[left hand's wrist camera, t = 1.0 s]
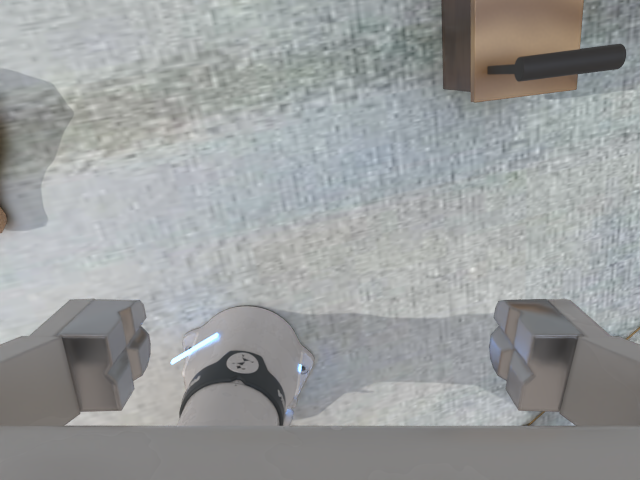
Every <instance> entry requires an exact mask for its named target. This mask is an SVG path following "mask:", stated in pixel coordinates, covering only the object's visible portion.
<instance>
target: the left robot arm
mask: <svg viewBox="0 0 640 480" xmlns="http://www.w3.org/2000/svg"><path fill="white" fill-rule="evenodd" d="M145 319H146V313H145V308H144V304H143V303H142V302H141V301H140V300H111V299H74V300H69V301H68V302H67V303H66V304H65V305H64V306H62V307H61V308H60V309H59V310H58V311H57V312H56V313H55V314H53V315H52V316H51V317H50V318H49V319H48V320H47V321H46V322H44V323H43V324H42V325H41V326H40V327H39V328H38V329H36V330H35V331H34V332H33V333H32V334H31V335H30V336H21V337H19V338H16V339H13V340H11V341H8V342H6V343H3V344H1V345H0V480H640V345H639V344H637V343H634V342H632V341H629V340H627V339H624V338H621V337H619V336H610V335H609V334H608V333H607V332H606V331H605V330H604V329H602V328H601V327H600V326H599V325H598V324H597V323H596V322H595V321H593V320H592V319H591V318H590V317H589V316H588V315H587V314H586V313H584V312H583V311H582V310H581V309H580V308H579V307H578V306H577V305H575V304H574V303H573V302H572V301H571V300H568V299H529V300H502V301H498V303H497V305H496V308H495V313H494V319H495V320H496V322H497V324H498V325H499V327H498V328H497V329H496V330H495V331H494V332H493V333H492V334H491V338H490V346H489V349H490V359H491V362H492V365H493V368H494V370H495V372H496V373H497V375H498V376H500V377H501V378H503V379H504V380H506V381H507V384H506V390H507V392H508V394H509V395H510V397H511V399H512V400H513V402H514V404H515V405H516V407H517V409H518V410H519V411H553V412H560V414H561V415H562V416H564V417H565V418H566V419H568V420H569V421H571V422H572V423H573V424H575V425H576V426H290V424H291V421H292V418H293V410H291V409H292V408H295V406H296V404H297V397H298V395H299V393H300V391H301V389H302V387H303V385H304V383H305V381H306V379H307V377H308V375H309V373H310V371H311V369H312V367H313V364H314V356H313V355H312V354H311V353H310V352H309V351H308V350H307V349H306V348H305V347H304V346H302V345H301V343H300V342H299V340H298V338H297V336H296V334H295V332H294V330H293V329H292V327H291V326H290V325H289V324H288V323H287V322H286V321H285V320H284V319H283V318H281V317H280V316H279V315H277V314H275V313H273V312H271V311H269V310H266V309H263V308H259V307H253V306H240V307H234V308H230V309H227V310H225V311H222V312H220V313H219V314H217V315H216V316H214V317H213V318H212V319H211V320H210V321H209V322H208V323H207V324H205V325H204V326H203V327H201V328H198V329H195V330H192V331H190V332H188V333H187V334H185V336H184V339H183V351H184V353H182V354H181V355H179V356H177V357H176V358H174V359H172V361H171V364H174V363H175V362H177V361H179V360H180V359H182V358H184V359H185V366H184V368H183V372H182V376H184V380H185V387H186V391H185V394H184V396H183V399H182V405H181V408H180V419H179V422H178V424H177V426H64V425H66V424H67V423H68V422H70V421H71V420H72V419H74V418H75V417H76V416H78V415H79V414H80V412H87V411H121V410H122V409H123V407H124V405H125V404H126V402H127V400H128V399H129V397H130V395H131V394H132V392H133V390H134V384H133V381H134V380H136V379H137V378H139V377H140V376H142V375H143V373H144V372H145V370H146V368H147V366H148V362H149V358H150V337H149V334H148V333H147V332H146V331H145V330H144V329H143V328H142V327H141V325H142V324H143V322H144V320H145ZM191 347H192V348H191ZM302 366H304V367H305V368H301V367H302Z"/></svg>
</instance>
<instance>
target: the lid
mask: <svg viewBox="0 0 640 480" xmlns="http://www.w3.org/2000/svg"><path fill="white" fill-rule="evenodd" d="M583 3H584V0H471V102H483V101H491V100H498V99H506V98H514V97H522V96H530V95H538V94H546V93H554V92H562V91H570V90H576V89H577V77H578V74H583V73H591V72H598V71H606V70H614V69H619V68H620V67H621V66H622V65H623V64H624V62H625V58H626V50H625V47H624V46H623V45H622V44H615V45H607V46H600V47H592V48H584V49H580V40H581V27H582V15H583Z"/></svg>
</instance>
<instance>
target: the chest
mask: <svg viewBox="0 0 640 480" xmlns="http://www.w3.org/2000/svg"><path fill="white" fill-rule="evenodd" d="M442 43H443V89H448V90H459V91H469V92H471V0H442Z"/></svg>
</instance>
